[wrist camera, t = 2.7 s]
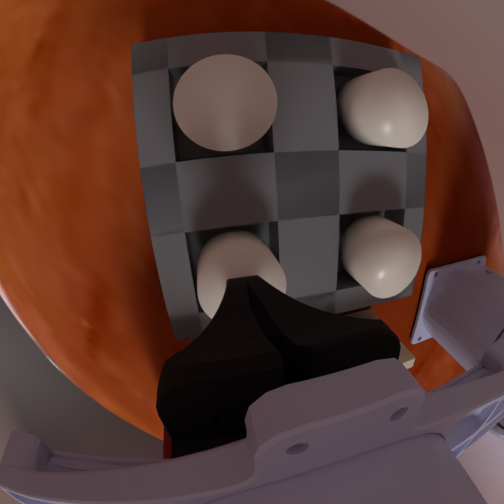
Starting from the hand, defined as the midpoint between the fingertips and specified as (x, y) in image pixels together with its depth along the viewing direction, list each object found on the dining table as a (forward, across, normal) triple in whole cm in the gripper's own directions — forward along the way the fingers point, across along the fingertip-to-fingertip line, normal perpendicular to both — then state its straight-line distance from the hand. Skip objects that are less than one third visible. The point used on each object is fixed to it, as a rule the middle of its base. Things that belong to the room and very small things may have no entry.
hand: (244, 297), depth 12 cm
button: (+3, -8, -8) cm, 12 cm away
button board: (+6, -4, -4) cm, 8 cm away
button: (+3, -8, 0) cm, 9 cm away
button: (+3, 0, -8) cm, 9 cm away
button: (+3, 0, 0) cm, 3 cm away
